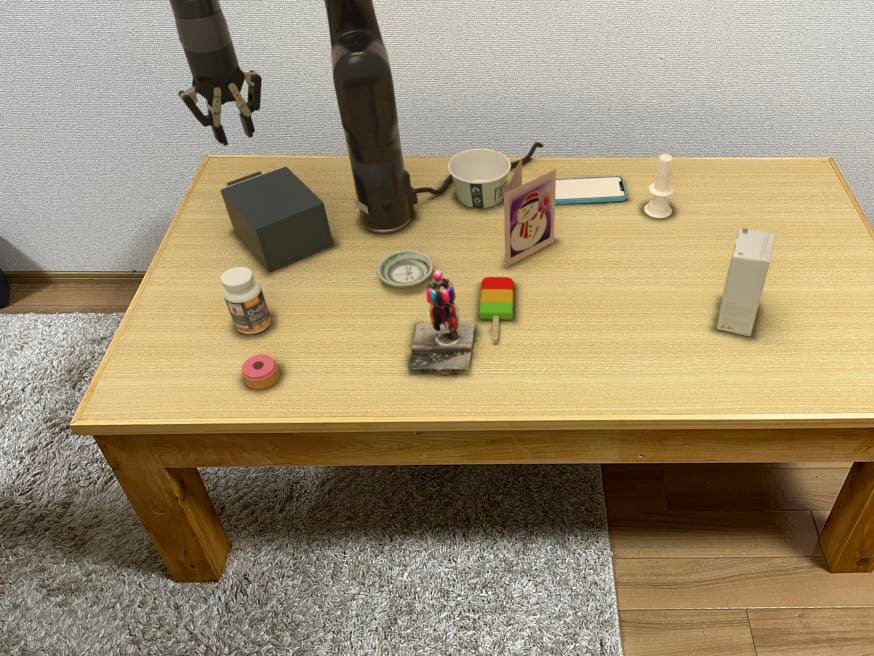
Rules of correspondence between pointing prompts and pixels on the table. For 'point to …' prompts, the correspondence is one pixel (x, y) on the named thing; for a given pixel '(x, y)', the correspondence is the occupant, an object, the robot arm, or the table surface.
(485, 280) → the popsicle
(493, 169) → the food container
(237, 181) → the drawer
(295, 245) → the cabinet
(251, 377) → the donut
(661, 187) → the candle
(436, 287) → the statue
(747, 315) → the cosmetic box
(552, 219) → the greeting card
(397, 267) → the saucer
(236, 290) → the pill bottle
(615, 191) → the smartphone
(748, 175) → the table surface
